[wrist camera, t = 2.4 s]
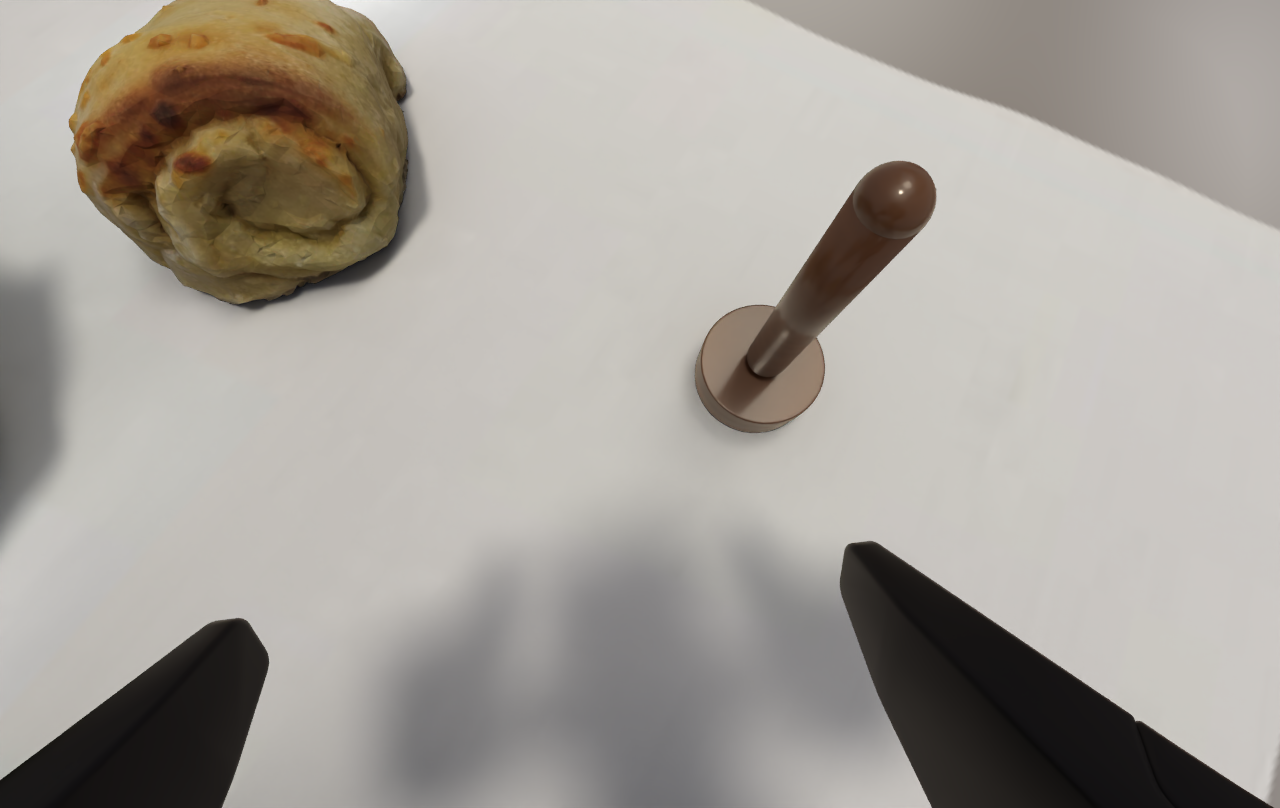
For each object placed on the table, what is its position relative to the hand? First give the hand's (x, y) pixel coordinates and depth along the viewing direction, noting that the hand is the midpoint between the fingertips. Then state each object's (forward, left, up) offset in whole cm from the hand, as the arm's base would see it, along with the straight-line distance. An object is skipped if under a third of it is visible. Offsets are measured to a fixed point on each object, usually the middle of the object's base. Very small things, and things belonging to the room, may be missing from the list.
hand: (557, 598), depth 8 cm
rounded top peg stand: (-5, -9, -14) cm, 17 cm away
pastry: (+17, -14, -14) cm, 26 cm away
